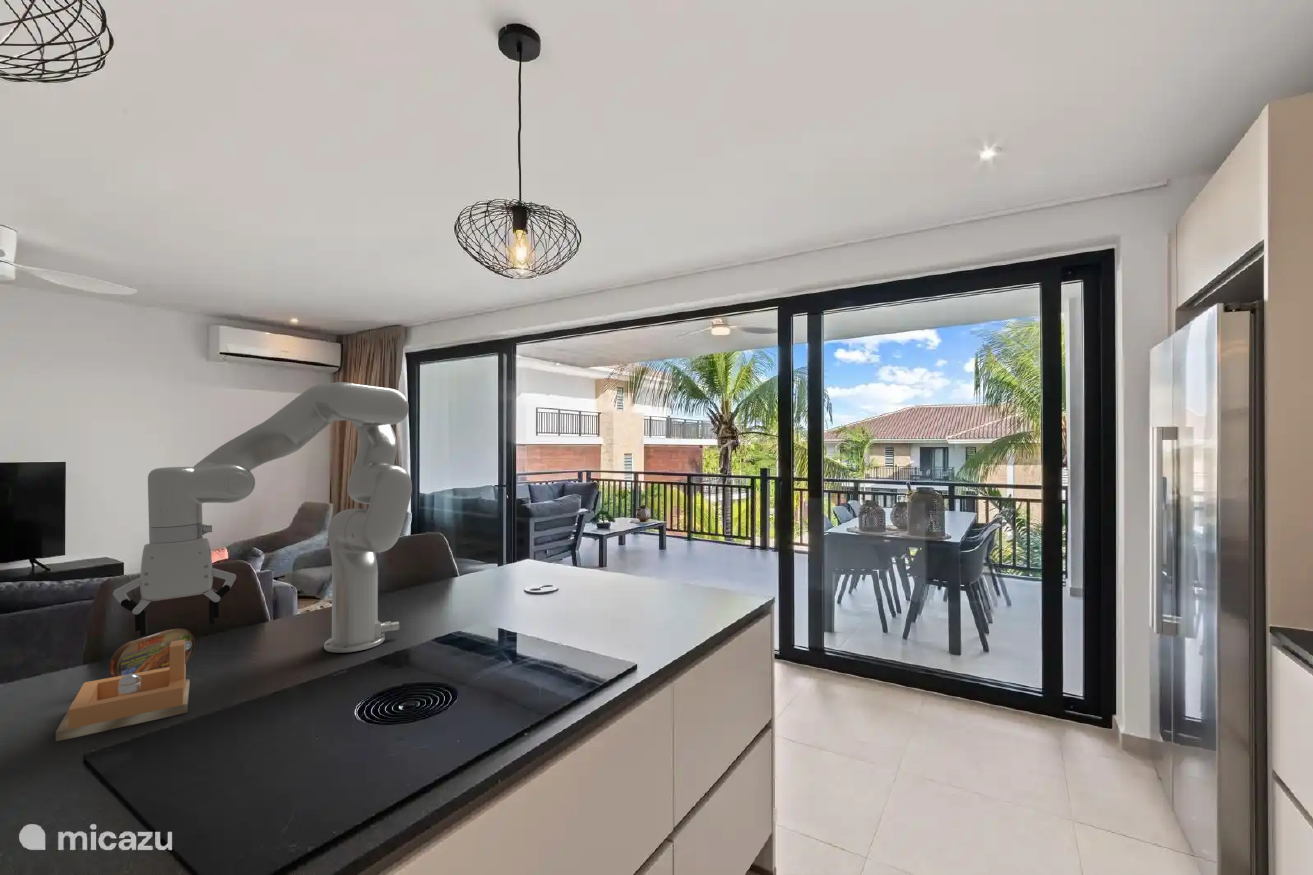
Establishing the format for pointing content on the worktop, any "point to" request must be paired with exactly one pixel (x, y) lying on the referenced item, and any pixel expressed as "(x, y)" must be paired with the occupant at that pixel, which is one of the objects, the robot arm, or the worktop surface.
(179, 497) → the robot arm
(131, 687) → the post
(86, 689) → the orange walled frame piece
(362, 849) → the worktop surface
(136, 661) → the tin
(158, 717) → the board
